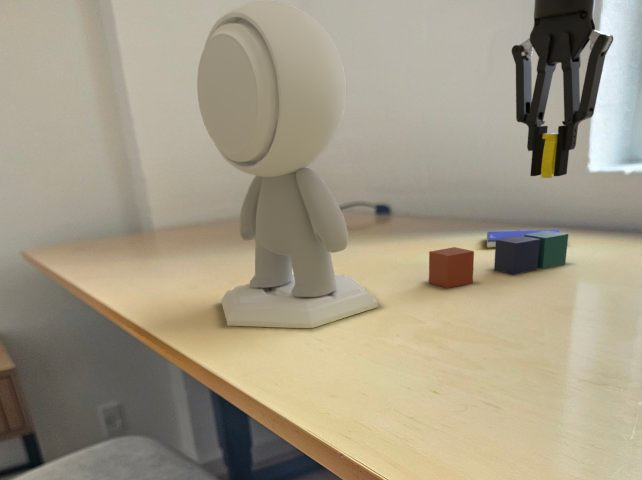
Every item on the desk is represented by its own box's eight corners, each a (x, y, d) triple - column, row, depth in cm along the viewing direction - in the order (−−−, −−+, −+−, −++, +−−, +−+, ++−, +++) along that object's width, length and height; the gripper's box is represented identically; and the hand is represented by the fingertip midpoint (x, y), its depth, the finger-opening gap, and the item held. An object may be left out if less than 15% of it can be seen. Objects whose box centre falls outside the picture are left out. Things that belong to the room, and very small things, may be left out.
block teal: (544, 259, 104) (546, 230, 102) (565, 264, 101) (568, 233, 98) (521, 264, 103) (524, 234, 101) (542, 268, 99) (545, 238, 97)
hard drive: (487, 239, 115) (562, 236, 112) (487, 230, 122) (557, 228, 119) (487, 248, 116) (561, 246, 113) (486, 239, 123) (556, 237, 120)
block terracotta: (453, 277, 98) (454, 246, 96) (472, 283, 94) (474, 251, 92) (428, 282, 97) (429, 251, 94) (447, 288, 93) (447, 256, 91)
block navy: (516, 265, 102) (519, 235, 100) (537, 269, 99) (540, 239, 97) (493, 269, 101) (495, 239, 99) (513, 274, 97) (516, 243, 95)
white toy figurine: (187, 313, 91) (139, 14, 75) (312, 279, 104) (294, 17, 88) (274, 340, 77) (238, -20, 61) (407, 297, 90) (405, -11, 74)
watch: (555, 180, 94) (560, 134, 91) (534, 180, 95) (539, 135, 92) (559, 174, 98) (564, 131, 95) (540, 175, 99) (544, 131, 97)
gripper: (496, -11, 88) (486, 177, 99) (618, -34, 78) (592, 178, 89) (522, -7, 93) (510, 172, 104) (640, -28, 83) (613, 172, 94)
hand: (548, 174), depth 96 cm, fingers closed on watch, 3 cm apart
